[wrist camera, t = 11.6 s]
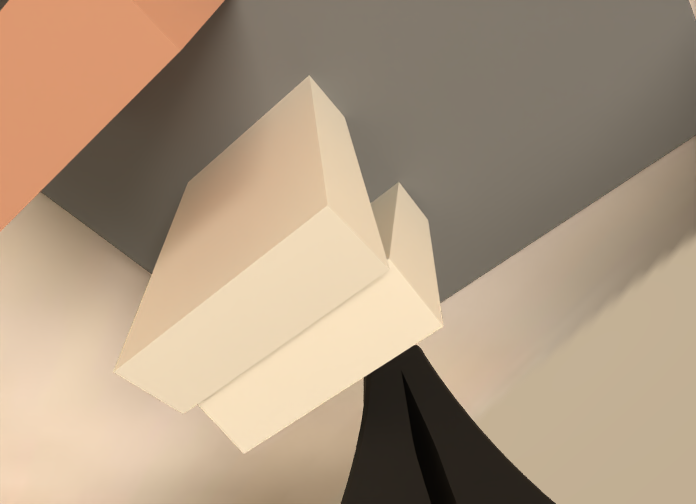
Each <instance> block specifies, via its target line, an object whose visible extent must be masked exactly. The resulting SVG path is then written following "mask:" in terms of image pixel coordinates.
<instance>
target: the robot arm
mask: <svg viewBox="0 0 696 504" xmlns="http://www.w3.org/2000/svg"><path fill="white" fill-rule="evenodd" d="M341 504H556V503H554V502H553V501H552V500H551V499H549V497H547V496H546V495H545V494H544V493H543V492H541V490H540V489H539V488H537V487H536V486H535V485H534V484H533V483H532V482H531V481H530V480H529V479H527V477H526V476H524V475H523V474H522V473H521V472H520V471H519V470H518V469H517V468H516V467H515V466H514V465H513V464H512V463H511V462H510V461H509V460H508V459H507V458H506V457H505V456H504V454H503V453H502V452H501V451H500V450H499V449H498V448H497V447H496V446H495V445H494V444H493V443H492V442H491V440H490V439H489V438H488V437H487V436H486V435H485V434H484V433H483V431H482V430H481V429H480V428H479V427H478V426H477V425H476V423H475V422H474V421H473V420H472V419H471V417H470V416H469V415H468V414H467V412H466V411H465V410H464V409H463V407H462V406H461V405H460V404H459V402H458V401H457V400H456V399H455V397H454V396H453V395H452V393H451V392H450V391H449V389H448V388H447V387H446V385H445V384H444V382H443V381H442V380H441V378H440V377H439V375H438V374H437V373H436V371H435V370H434V368H433V367H432V365H431V364H430V362H429V361H428V359H427V357H426V356H425V354H424V353H423V351H422V349H421V348H420V347H419V346H417V345H413V346H412V347H410V348H409V349H407V350H406V351H404V352H403V353H401V354H399V355H398V356H396V357H395V358H393V359H392V360H390V361H389V362H387V363H385V364H384V365H382V366H381V367H379V368H378V369H376V370H374V371H373V372H371V373H370V374H368V375H367V376H365V377H364V407H363V415H362V422H361V427H360V432H359V437H358V441H357V446H356V451H355V455H354V459H353V463H352V467H351V471H350V475H349V478H348V482H347V485H346V489H345V492H344V495H343V498H342V501H341Z"/></svg>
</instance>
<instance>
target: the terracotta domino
mask: <svg viewBox="0 0 696 504" xmlns="http://www.w3.org/2000/svg"><path fill="white" fill-rule="evenodd" d="M224 1H225V0H9V1H8V2H7V3H6V5H5V6H4V7H3V8H2V9H1V11H0V231H1V230H2V229H3V228H4V227H5V226H6V225H7V224H8V223H9V222H10V221H11V220H12V219H13V218H14V217H15V216H16V215H17V214H18V213H19V212H20V211H21V210H22V209H23V208H24V207H25V206H26V205H27V204H28V203H29V202H30V201H31V200H32V199H33V198H34V197H35V196H36V195H37V194H38V193H39V192H40V191H41V190H42V189H43V188H44V187H45V186H46V185H47V184H48V183H49V182H50V181H51V180H52V179H53V178H54V177H55V176H56V175H57V174H58V173H59V172H60V171H61V170H62V169H63V168H64V167H65V166H66V165H67V164H68V163H69V162H70V161H71V160H72V159H73V158H74V157H75V156H76V155H77V154H78V153H79V152H80V151H81V150H82V149H83V148H84V147H85V146H86V145H87V144H88V143H89V142H90V141H91V140H92V139H93V138H94V137H95V136H96V135H97V134H98V133H99V132H100V131H101V130H102V129H103V128H104V127H105V126H106V125H107V124H108V123H109V122H110V121H111V120H112V119H113V118H114V117H115V116H116V115H117V114H118V113H119V112H120V111H121V110H122V109H123V108H124V107H125V106H126V105H127V104H128V103H129V102H130V101H131V100H132V99H133V98H134V97H135V96H136V95H137V94H138V93H139V92H140V91H141V90H142V89H143V88H144V87H145V86H146V85H147V84H148V83H149V82H150V81H151V80H152V79H153V78H154V77H155V76H156V75H157V74H158V73H159V72H160V71H161V70H162V69H163V68H164V67H165V66H166V65H167V64H168V63H169V62H170V61H171V60H172V59H173V58H174V57H175V56H176V55H177V54H178V53H179V52H180V51H181V50H182V49H183V48H184V46H185V45H186V44H187V43H188V42H189V41H190V40H191V38H192V37H193V36H194V35H195V34H196V33H197V31H198V30H199V29H200V28H201V27H202V26H203V25H204V23H205V22H206V21H207V20H208V19H209V18H210V17H211V15H212V14H213V13H214V12H215V11H216V10H217V9H218V7H219V6H220V5H221V4H222V3H223V2H224Z"/></svg>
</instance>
